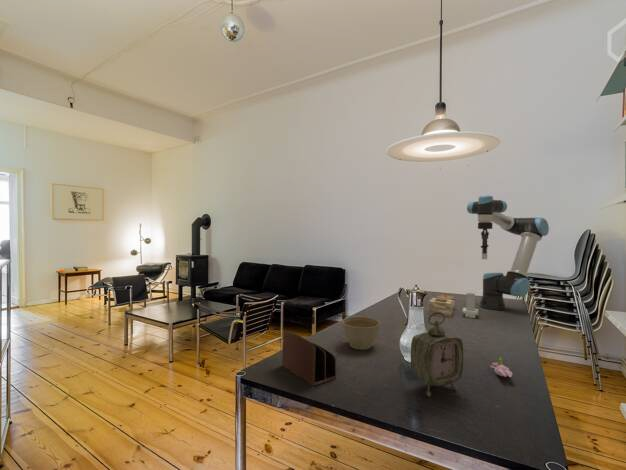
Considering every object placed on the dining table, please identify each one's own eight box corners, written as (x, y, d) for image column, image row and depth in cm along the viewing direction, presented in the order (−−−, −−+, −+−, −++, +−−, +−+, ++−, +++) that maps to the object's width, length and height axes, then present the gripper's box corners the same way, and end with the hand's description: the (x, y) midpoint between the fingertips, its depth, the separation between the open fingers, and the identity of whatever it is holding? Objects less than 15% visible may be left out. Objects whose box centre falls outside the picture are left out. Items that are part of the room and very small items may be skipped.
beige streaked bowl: (432, 310, 203) (432, 297, 203) (452, 312, 198) (452, 299, 197) (429, 314, 193) (429, 301, 193) (450, 317, 187) (450, 303, 187)
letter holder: (313, 387, 104) (313, 344, 103) (281, 366, 119) (281, 328, 119) (336, 379, 110) (336, 338, 109) (303, 359, 125) (303, 324, 125)
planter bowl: (334, 346, 140) (334, 321, 139) (356, 337, 151) (356, 314, 151) (365, 356, 129) (366, 329, 128) (386, 345, 140) (386, 321, 140)
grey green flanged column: (463, 314, 195) (463, 291, 194) (478, 315, 191) (478, 292, 191) (462, 317, 188) (462, 293, 187) (477, 319, 184) (478, 294, 184)
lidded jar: (438, 310, 203) (438, 295, 203) (435, 306, 213) (435, 292, 213) (456, 311, 201) (456, 296, 201) (452, 307, 212) (452, 293, 211)
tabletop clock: (427, 400, 96) (428, 317, 95) (407, 387, 104) (408, 310, 103) (462, 391, 101) (464, 313, 101) (441, 378, 110) (442, 306, 109)
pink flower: (487, 369, 121) (497, 380, 106) (486, 353, 121) (496, 362, 107) (505, 371, 119) (518, 383, 105) (505, 355, 120) (518, 364, 105)
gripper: (492, 221, 174) (492, 260, 174) (492, 222, 196) (491, 257, 196) (477, 221, 178) (476, 259, 178) (478, 222, 199) (477, 256, 200)
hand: (484, 258), depth 187 cm, fingers open, 13 cm apart
